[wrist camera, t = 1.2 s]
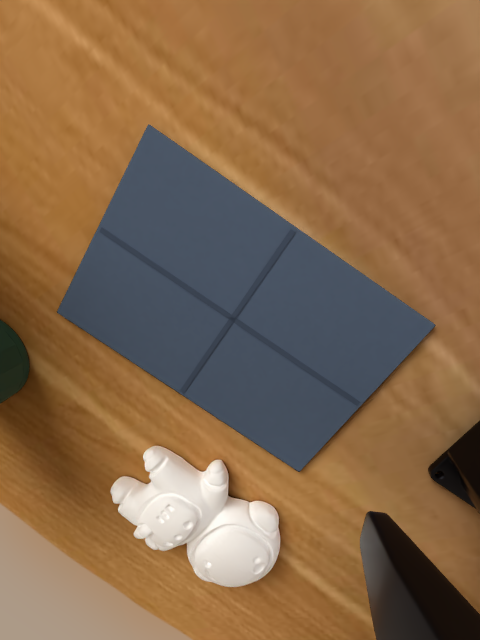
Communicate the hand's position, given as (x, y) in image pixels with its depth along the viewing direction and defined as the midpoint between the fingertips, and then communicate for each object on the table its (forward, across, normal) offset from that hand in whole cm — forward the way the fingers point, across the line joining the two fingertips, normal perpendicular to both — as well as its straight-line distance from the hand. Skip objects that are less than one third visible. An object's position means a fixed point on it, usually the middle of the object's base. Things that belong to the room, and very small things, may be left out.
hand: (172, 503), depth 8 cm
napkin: (+13, 0, 0) cm, 13 cm away
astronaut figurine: (+13, +1, +14) cm, 19 cm away
